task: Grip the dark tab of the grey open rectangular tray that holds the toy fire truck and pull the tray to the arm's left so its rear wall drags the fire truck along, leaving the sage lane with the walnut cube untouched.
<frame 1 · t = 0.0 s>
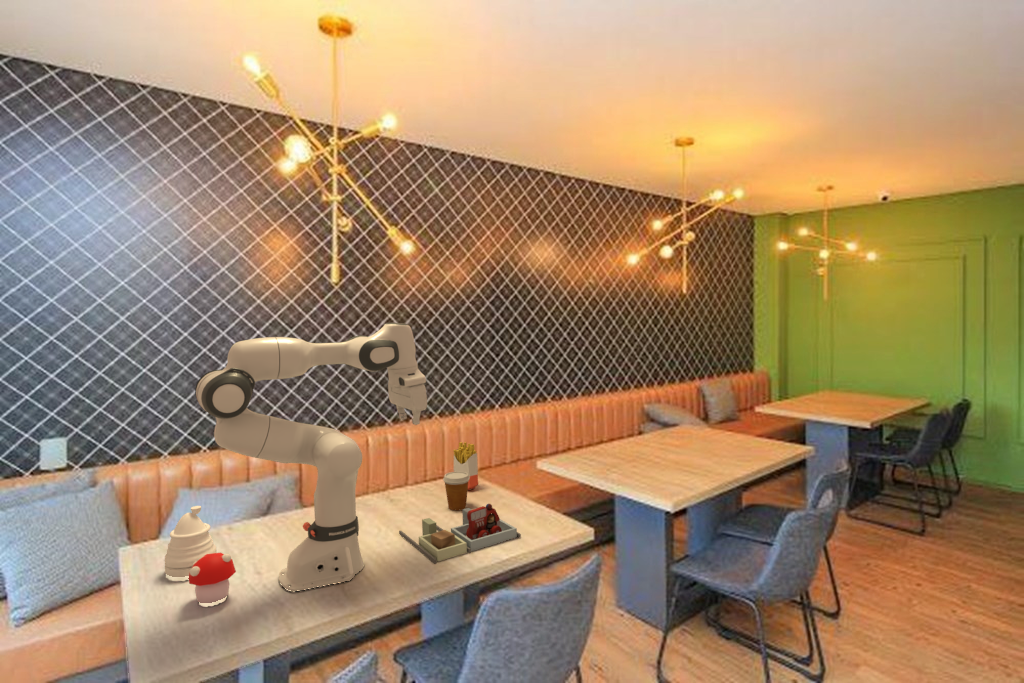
hand: (409, 421, 170), 39 cm above the table, tool pointing down, fingers open, 8 cm apart
french fries container: (465, 488, 227), on the table
honey pot: (191, 571, 160), on the table
grey open rectangular tray: (479, 525, 180), point 3 cm above the table, slide at 0.0 cm
walnut cube: (443, 550, 170), resting in cube lane
lane rails: (458, 536, 180), on the table
disposable coffee cup: (457, 508, 205), on the table
cube lane: (438, 537, 172), point 3 cm above the table, slide at 0.0 cm
mushroom: (213, 600, 144), on the table
toy fire truck: (484, 539, 178), resting in grey open rectangular tray
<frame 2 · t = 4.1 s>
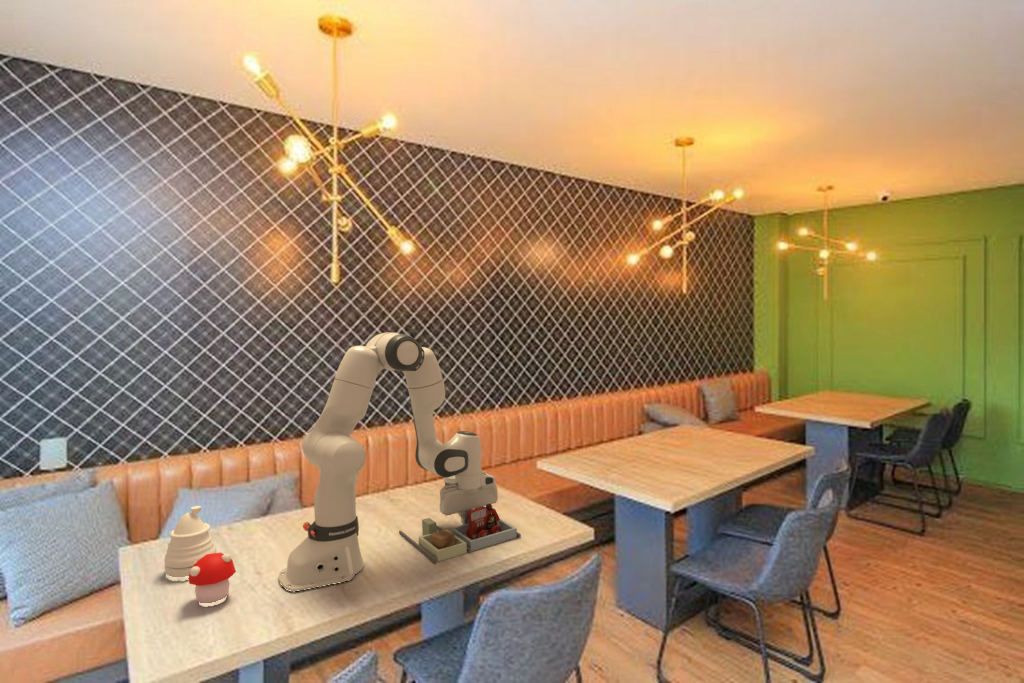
hand: (469, 521, 186), 2 cm above the table, tool pointing down, fingers closed on grey open rectangular tray, 2 cm apart
grey open rectangular tray: (479, 525, 180), point 3 cm above the table, slide at 0.0 cm, touching gripper
everything else where it was.
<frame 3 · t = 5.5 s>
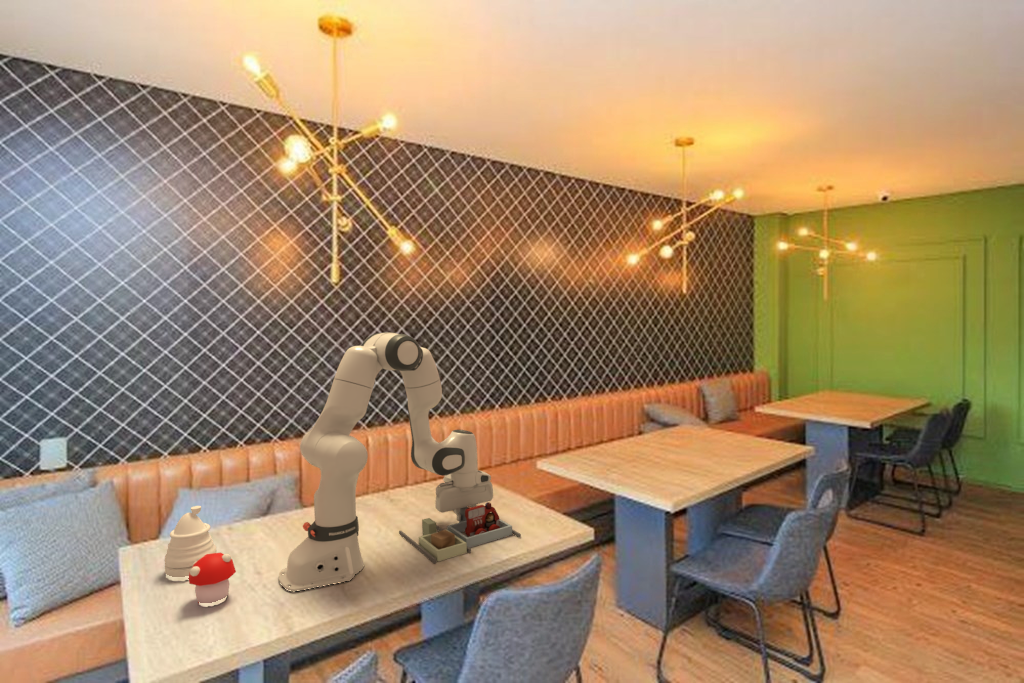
hand: (465, 519, 188), 2 cm above the table, tool pointing down, fingers closed on grey open rectangular tray, 2 cm apart
grey open rectangular tray: (475, 523, 182), point 3 cm above the table, slide at 2.5 cm, touching gripper, toy fire truck
toy fire truck: (483, 537, 179), resting in grey open rectangular tray
everything else where it was.
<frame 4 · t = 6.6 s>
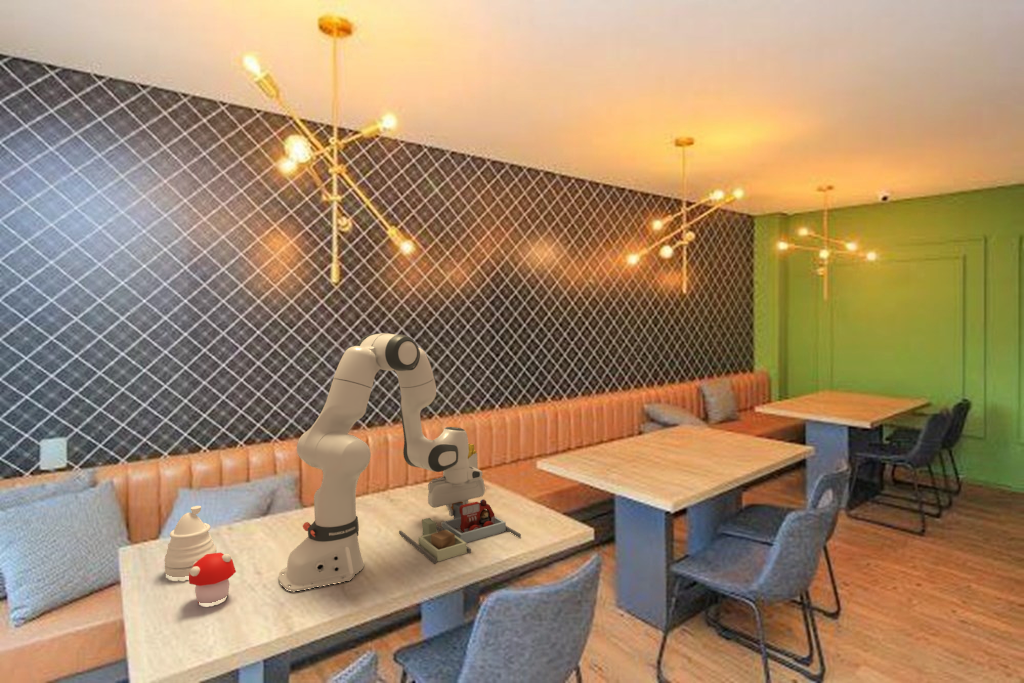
hand: (457, 514, 193), 2 cm above the table, tool pointing down, fingers closed on grey open rectangular tray, 2 cm apart
grey open rectangular tray: (469, 519, 186), point 3 cm above the table, slide at 6.3 cm, touching gripper, toy fire truck
toy fire truck: (478, 533, 182), resting in grey open rectangular tray
everything else where it was.
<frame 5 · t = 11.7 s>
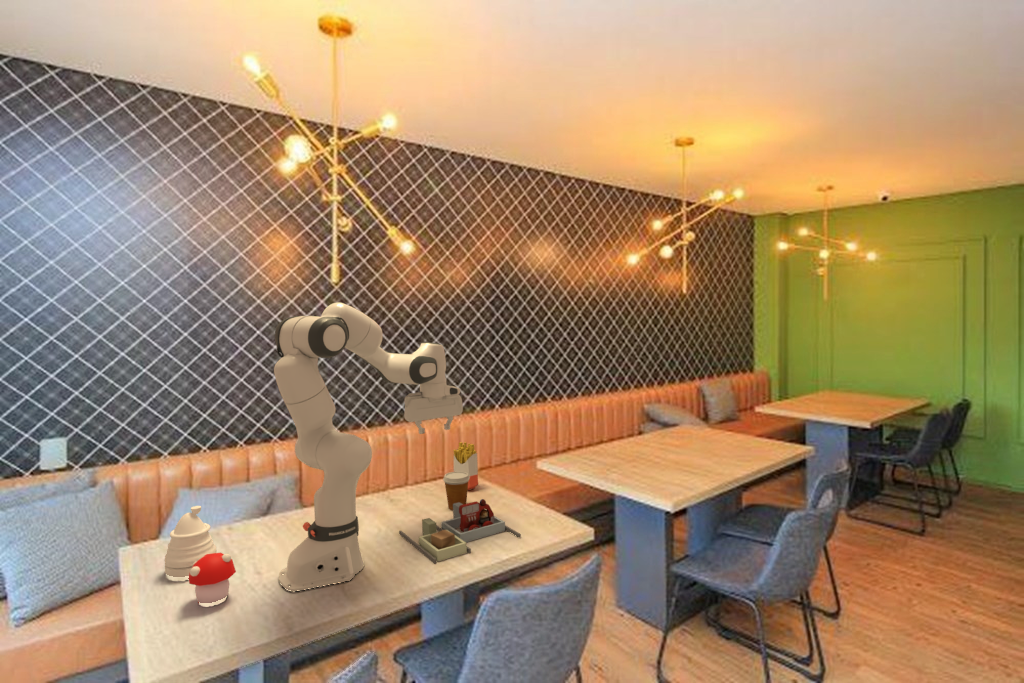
hand: (434, 431, 190), 31 cm above the table, tool pointing down, fingers open, 8 cm apart
grey open rectangular tray: (469, 519, 186), point 3 cm above the table, slide at 6.6 cm
toy fire truck: (477, 533, 183), resting in grey open rectangular tray
everything else where it was.
at the end: grey open rectangular tray slide at 6.6 cm; toy fire truck inside the target area (4.4 cm from its centre), resting in grey open rectangular tray; cube lane slide at 0.0 cm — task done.
